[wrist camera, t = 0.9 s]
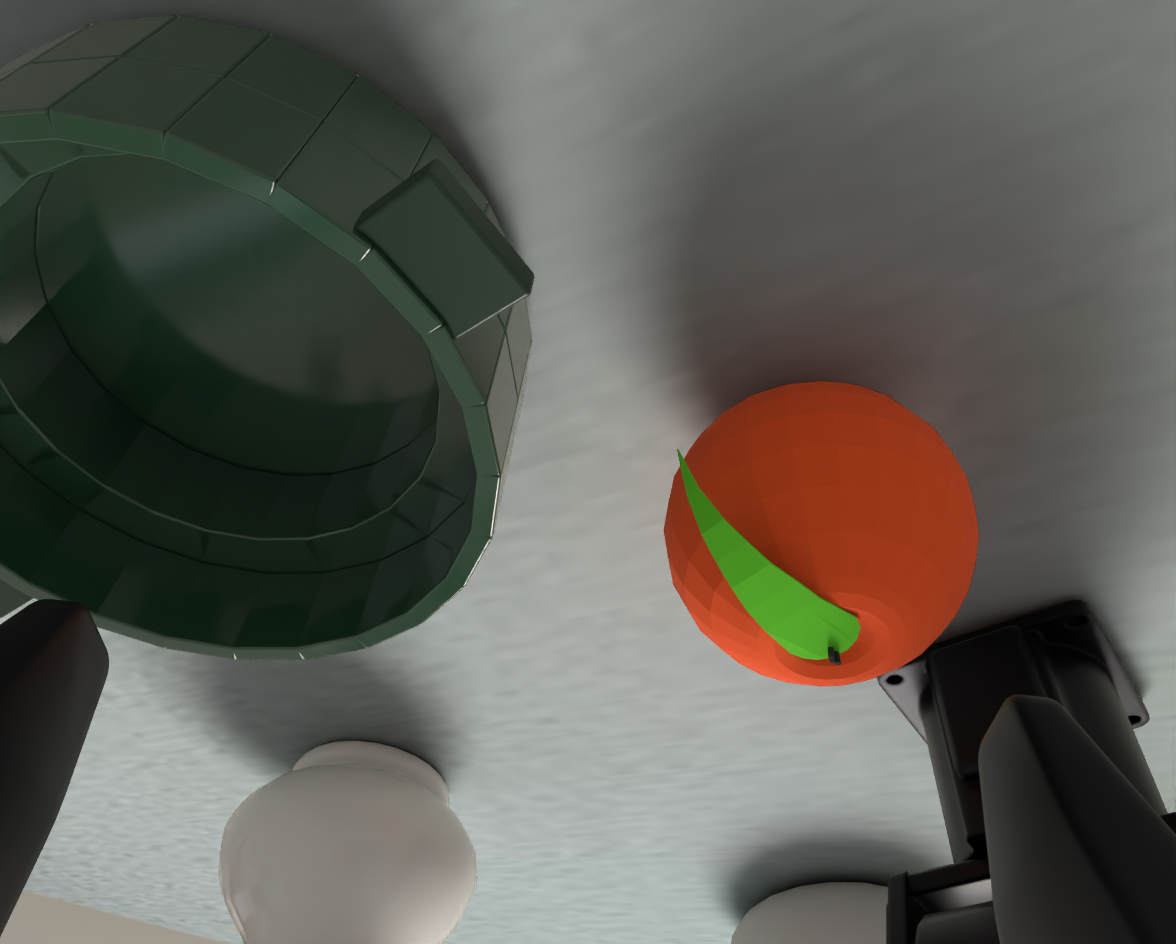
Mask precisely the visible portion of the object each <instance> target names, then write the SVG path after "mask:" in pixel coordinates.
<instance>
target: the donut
mask: <svg viewBox="0 0 1176 944" xmlns="http://www.w3.org/2000/svg"><path fill="white" fill-rule="evenodd" d="M887 903H888V887H886V886H880V885H874V884H868V883H862V882H828V883H820V884H813V885H805V886H799V887H796V888H793V889H790V890H786V891H783V892H780V893H777V894H774V895H771V896H770V897H768V898H767V899H765V900H763V901H762V902H760V903H758V904H757V905H755V906H754V907H753V908H752V909H750V910H749V911H748V912H747V913H746V915H745V916H744V918H743V919H742V920H741V922H740V923H739V925H738V926H737V928H736V930H735V932H734V934H733V936H732V942H731V944H886V905H887Z"/></svg>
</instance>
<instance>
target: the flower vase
mask: <svg viewBox="0 0 1176 944" xmlns="http://www.w3.org/2000/svg"><path fill="white" fill-rule="evenodd" d="M449 805H450V802H449V790H448V787H447V785H446V783H445V782H444V780H443V778H442V776H441V775H440V774H439V773H438V772H437V771H436V770H434V769H433V768H432V767H431V766H430V765H429V764H428V763H426V762H424V761H423V760H421V759H420V758H418V757H416V756H415V755H412V754H410V753H408V752H405V751H403V750H400V749H398V748H395V747H391V746H387V745H383V744H379V743H373V742H364V741H338V742H333V743H328V744H324V745H320V746H317V747H316V748H314V749H312V750H310V751H308V752H306V753H305V754H304V755H303V756H302V757H301V758H300V759H299V760H298V762H297V763H296V764H295V765H294V767H293V769H292V771H291V772H288V773H286V774H284V775H282V776H280V777H278V778H276V779H274V780H272V781H270V782H268V783H267V784H265V785H263V786H261V787H260V788H258V789H257V790H256V791H254V792H253V793H251V794H250V795H249V796H248V797H247V798H246V799H245V800H244V801H243V802H242V803H241V805H240V806H239V807H238V808H237V809H236V810H235V812H234V813H233V814H232V816H231V817H230V818H229V820H228V821H227V824H226V826H225V828H224V832H223V837H222V844H221V851H220V859H219V881H220V887H221V891H222V895H223V897H224V900H225V903H226V906H227V908H228V910H229V913H230V915H231V917H232V919H233V921H234V924H235V926H236V928H237V929H238V931H239V933H240V935H241V937H242V940H243V943H244V944H442V943H443V942H444V941H445V940H446V939H447V938H448V937H449V936H450V934H451V933H452V932H453V931H454V929H455V928H456V926H457V925H458V923H459V921H460V920H461V918H462V916H463V914H464V912H465V911H466V909H467V907H468V905H469V903H470V900H471V898H472V896H473V893H474V890H475V887H476V881H477V867H476V854H475V851H474V848H473V845H472V843H471V840H470V838H469V836H468V834H467V833H466V831H465V829H464V827H463V826H462V824H461V822H460V820H459V819H458V817H457V815H456V814H455V813H454V812H453V811H452V810H451V809H450V807H449Z"/></svg>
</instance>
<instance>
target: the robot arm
mask: <svg viewBox="0 0 1176 944" xmlns="http://www.w3.org/2000/svg"><path fill="white" fill-rule="evenodd" d="M108 669H109V657H108V652H107V649H106V647H105V645H104V643H103V640H102V638H101V636H100V634H99V631H98V629H97V627H96V625H95V623H94V620H93V618H92V616H91V614H90V611H89V610H88V608H87V607H86V606H85V605H83V604H82V603H80V602H76V601H66V600H55V599H42V600H38V601H36V602H34V603H32V604H30V605H28V606H27V607H25V608H24V609H22V610H21V611H19V612H18V613H17V614H15V615H14V616H12V617H11V618H9V619H8V620H6V621H5V622H3V623H2V624H1V625H0V936H1V934H2V932H3V930H4V928H5V926H6V924H7V922H8V920H9V918H10V915H11V913H12V911H13V909H14V907H15V905H16V903H17V901H18V899H19V897H20V895H21V892H22V890H23V888H24V886H25V884H26V882H27V880H28V878H29V876H30V874H31V872H32V870H33V867H34V865H35V863H36V861H37V859H38V857H39V855H40V853H41V851H42V849H43V847H44V844H45V842H46V840H47V838H48V836H49V833H50V831H51V829H52V827H53V825H54V822H55V820H56V818H57V815H58V813H59V810H60V807H61V805H62V802H63V800H64V797H65V794H66V792H67V789H68V786H69V783H70V780H71V777H72V775H73V772H74V769H75V766H76V763H77V760H78V758H79V755H80V752H81V749H82V746H83V743H84V741H85V738H86V735H87V732H88V729H89V726H90V724H91V721H92V718H93V715H94V712H95V709H96V707H97V704H98V701H99V698H100V695H101V692H102V690H103V687H104V684H105V681H106V678H107V674H108ZM877 678H878V682H879V685H880V686H881V687H882V689H883V690H884V691H885V692H886V693H887V695H888V696H889V697H890V698H891V700H892V701H893V702H894V703H895V705H896V706H897V707H898V708H899V710H900V711H901V712H902V713H903V715H904V716H905V717H906V718H907V720H908V721H909V722H910V723H911V725H912V726H913V727H914V728H915V730H916V731H917V732H918V733H919V735H920V736H921V737H922V738H923V740H924V741H925V742H926V743H927V744H928V748H929V752H930V757H931V762H932V766H933V771H934V775H935V780H936V784H937V789H938V793H939V798H940V802H941V807H942V811H943V816H944V820H945V825H946V829H947V834H948V838H949V843H950V847H951V852H952V856H953V861H954V864H950V865H946V866H941V867H937V868H933V869H929V870H924V871H920V872H916V873H911V874H910V873H909V872H907V871H905V872H901V873H896V874H892V875H889V876H888V903H887V905H886V944H1176V812H1173V813H1169V814H1168V813H1167V810H1166V808H1165V805H1164V803H1163V801H1162V798H1161V796H1160V793H1159V791H1158V789H1157V786H1156V784H1155V781H1154V779H1153V777H1152V774H1151V772H1150V769H1149V767H1148V765H1147V762H1146V760H1145V757H1144V755H1143V752H1142V750H1141V748H1140V745H1139V743H1138V740H1137V738H1136V736H1135V733H1134V731H1133V729H1135V728H1138V727H1141V726H1143V725H1145V724H1146V723H1147V722H1148V721H1149V719H1150V718H1149V714H1148V712H1147V709H1146V707H1145V705H1144V703H1143V701H1142V699H1141V697H1140V696H1139V694H1138V692H1137V690H1136V688H1135V687H1134V685H1133V683H1132V681H1131V679H1130V677H1129V676H1128V674H1127V672H1126V670H1125V668H1124V666H1123V665H1122V663H1121V661H1120V659H1119V657H1118V656H1117V654H1116V652H1115V650H1114V648H1113V646H1112V645H1111V643H1110V641H1109V639H1108V637H1107V635H1106V634H1105V632H1104V630H1103V628H1102V626H1101V625H1100V623H1099V621H1098V619H1097V617H1096V615H1095V614H1094V612H1093V610H1092V608H1091V606H1090V605H1089V604H1088V603H1087V602H1084V601H1081V600H1072V601H1067V602H1064V603H1061V604H1058V605H1055V606H1052V607H1049V608H1046V609H1043V610H1040V611H1037V612H1034V613H1030V614H1027V615H1024V616H1021V617H1018V618H1015V619H1012V620H1009V621H1006V622H1003V623H1000V624H997V625H994V626H991V627H988V628H985V629H982V630H979V631H976V632H973V633H970V634H966V635H963V636H960V637H957V638H954V639H951V640H948V641H945V642H942V643H939V644H936V645H933V646H930V647H928V648H927V649H926V650H925V651H924V652H923V653H922V654H921V655H919V656H918V657H916V658H915V659H913V660H911V661H910V662H908V663H907V664H905V665H903V666H902V667H900V668H898V669H896V670H893V671H891V672H888V673H885V674H883V675H880V676H878V677H877Z"/></svg>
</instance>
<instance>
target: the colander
mask: <svg viewBox="0 0 1176 944" xmlns="http://www.w3.org/2000/svg"><path fill="white" fill-rule="evenodd" d="M436 158H439V159H440V160H441V161H442V162H443V163H444V164H445V165H446V167H447V168H448V169H449V170H450V172H451V173H452V174H453V175H454V177H455V178H456V179H457V180H458V181H459V183H460V184H461V185H462V186H463V188H464V189H465V190H466V191H467V192H468V194H469V195H470V196H471V197H472V199H473V200H474V201H475V202H476V204H477V205H478V206H479V207H480V208H481V210H482V211H483V212H484V213H485V215H486V216H487V217H488V218H489V219H490V221H491V222H492V223H493V224H494V226H495V227H496V228H497V229H498V231H499V232H500V233H501V234H502V235H503V237H504V238H505V236H504V234H503V231H502V229H501V227H500V225H499V223H498V221H497V218H496V216H495V214H494V212H493V210H492V208H491V205H490V204H489V203H488V200H487V198H486V197H485V196H484V194H483V193H482V192H481V191H480V189H479V188H478V187H477V186H476V184H475V183H474V182H473V181H472V179H471V178H470V177H469V176H468V174H467V173H466V172H465V171H464V170H463V168H462V167H461V166H460V165H459V163H458V162H457V161H456V160H455V158H454V157H453V156H452V155H451V153H450V152H449V151H448V150H447V148H446V147H445V146H444V145H443V143H442V142H441V141H440V140H439V138H438V137H437V136H436V135H435V134H432V131H431V130H430V129H428V128H427V127H426V126H425V125H423V124H422V123H421V122H419V121H418V120H417V119H416V118H414V117H413V116H412V115H411V114H409V113H408V112H407V111H405V110H404V109H403V108H402V107H400V106H399V105H398V104H397V103H395V102H394V101H393V100H391V99H390V98H389V97H388V96H386V95H385V94H384V93H382V92H381V91H380V90H379V89H377V88H376V87H375V86H374V85H372V84H371V83H370V82H368V81H367V80H366V79H365V78H363V77H362V76H360V75H359V76H357V74H356V73H355V72H353V71H351V70H349V69H346V68H344V67H342V66H340V65H338V64H336V63H334V62H331V61H329V60H327V59H325V58H323V57H321V56H319V55H316V54H314V53H312V52H310V51H308V50H306V49H304V48H302V47H299V46H297V45H295V44H293V43H291V42H289V41H287V40H284V39H282V38H280V37H278V36H276V35H270V33H268V32H264V31H259V30H254V29H248V28H243V27H238V26H233V25H228V24H223V23H218V22H213V21H208V20H203V19H198V18H192V17H187V16H182V15H181V16H179V17H178V16H176V15H170V16H159V17H147V18H136V19H125V20H113V21H102V22H95V23H94V24H88V25H86V26H83V27H81V28H79V29H77V30H75V31H72V32H70V33H68V34H66V35H63V36H61V37H59V38H57V39H55V40H52V41H50V42H48V43H46V44H44V45H41V46H39V47H37V48H35V49H33V50H30V51H28V52H26V53H24V54H23V55H21V56H19V57H18V58H16V59H14V60H13V61H11V62H9V63H8V64H6V65H5V66H3V67H1V68H0V579H2V580H3V581H5V582H6V583H8V584H9V585H11V586H12V587H14V588H15V589H17V590H20V591H21V592H22V593H25V594H27V595H29V596H31V597H33V598H35V599H37V600H42V599H55V600H66V601H76V602H80V603H82V604H83V605H85V606H86V607H87V608H88V610H89V611H90V614H91V616H92V618H93V620H94V623H95V625H96V627H99V628H102V629H105V630H108V631H112V632H115V633H118V634H121V635H124V636H127V637H131V638H134V639H137V640H140V641H143V642H146V643H150V644H153V645H156V646H159V647H162V648H164V647H165V648H167V649H172V650H178V651H185V652H191V653H197V654H203V655H209V656H215V657H221V658H227V659H233V660H235V659H238V660H304V659H306V660H308V659H314V658H319V657H324V656H329V655H335V654H340V653H345V652H351V651H356V650H361V649H366V648H367V647H368V648H369V647H371V646H374V645H376V644H378V643H380V642H383V641H385V640H387V639H389V638H392V637H394V636H396V635H398V634H401V633H403V632H405V631H407V630H410V629H412V628H414V627H416V626H419V625H420V624H421V623H423V622H425V621H426V620H427V619H428V618H429V617H430V616H432V615H433V614H434V613H435V612H436V611H437V610H438V609H440V608H441V607H442V606H443V605H444V604H445V603H447V602H448V601H449V600H450V599H451V598H452V597H454V596H455V595H456V594H457V593H458V592H459V591H461V590H462V589H463V588H464V586H465V585H466V584H467V582H468V581H469V579H470V577H471V575H472V573H473V572H474V570H475V568H476V566H477V564H478V563H479V561H480V559H481V557H482V556H483V554H484V552H485V550H486V548H487V547H488V545H489V543H490V541H491V539H492V537H493V534H494V530H495V525H496V520H497V516H498V511H499V507H500V502H501V498H502V493H503V488H504V484H505V479H506V475H507V470H508V465H509V461H510V456H511V452H512V447H513V442H514V438H515V433H516V429H517V424H518V420H519V415H520V410H521V406H522V401H523V397H524V390H525V384H526V377H527V370H528V363H529V357H530V350H531V343H532V339H531V337H532V335H531V329H530V322H529V316H528V310H527V304H526V297H525V298H524V299H522V300H520V301H519V302H517V303H515V304H514V305H512V306H511V307H509V308H507V309H506V310H504V311H502V312H501V313H499V314H497V315H496V316H494V317H493V318H491V319H489V320H488V321H486V322H484V323H483V324H481V325H479V326H478V327H476V328H475V329H473V330H471V331H470V332H468V333H466V334H465V335H463V336H461V337H460V338H458V339H455V338H454V337H453V335H452V333H451V331H450V329H449V327H448V326H447V324H446V323H444V320H443V318H442V317H441V316H440V315H439V314H438V313H437V312H436V311H435V310H434V309H433V307H432V306H431V305H430V304H429V303H428V302H427V301H426V300H425V299H424V298H423V296H422V295H421V294H420V293H419V292H418V291H417V290H416V289H415V288H414V287H413V285H412V284H411V283H410V282H409V281H408V280H407V279H406V278H405V277H404V276H403V274H402V273H401V272H400V271H399V270H398V269H397V268H396V267H395V266H394V265H393V263H392V262H391V261H390V260H389V259H388V258H387V257H386V256H385V255H384V254H383V252H382V251H381V250H380V249H379V248H378V247H376V246H374V244H373V243H372V242H371V241H370V240H368V239H367V238H365V237H364V236H363V235H361V234H360V233H358V232H357V231H356V230H355V229H354V225H355V223H356V221H357V220H358V218H359V216H360V214H361V213H362V211H364V210H365V209H366V208H368V207H369V206H370V205H372V204H373V203H374V202H376V201H377V200H379V199H380V198H381V197H383V196H384V195H385V194H387V193H388V192H390V191H391V190H392V189H394V188H395V187H396V186H398V185H399V184H400V183H402V182H403V181H405V180H406V179H407V178H409V177H410V176H411V175H413V174H414V173H416V172H417V171H418V170H420V169H421V168H422V167H424V166H425V165H426V164H428V163H429V162H431V161H432V160H433V159H436ZM505 239H506V238H505Z"/></svg>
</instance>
